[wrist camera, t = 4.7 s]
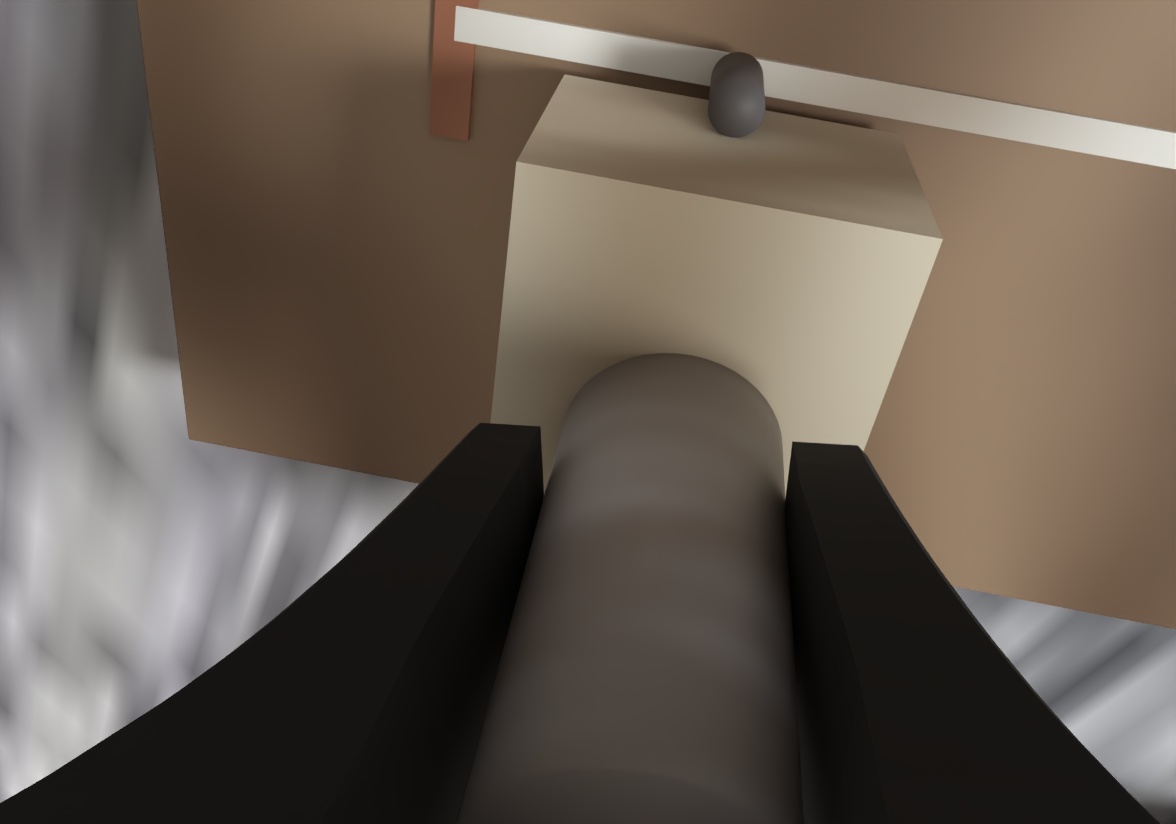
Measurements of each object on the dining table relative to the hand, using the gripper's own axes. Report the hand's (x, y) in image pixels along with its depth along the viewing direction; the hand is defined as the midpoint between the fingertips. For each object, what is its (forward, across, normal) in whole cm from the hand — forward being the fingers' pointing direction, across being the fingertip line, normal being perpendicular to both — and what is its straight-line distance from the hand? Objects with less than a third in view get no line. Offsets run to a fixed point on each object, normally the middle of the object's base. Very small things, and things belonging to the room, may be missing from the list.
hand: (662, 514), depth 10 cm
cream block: (+6, 0, +1) cm, 6 cm away
